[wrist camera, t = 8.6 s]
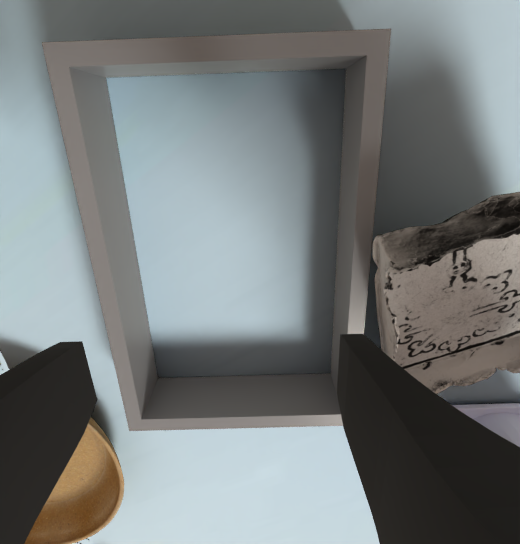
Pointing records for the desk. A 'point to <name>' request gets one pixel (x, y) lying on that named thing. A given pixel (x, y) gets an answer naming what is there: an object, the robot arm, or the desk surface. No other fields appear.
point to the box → (119, 235)
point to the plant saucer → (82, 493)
